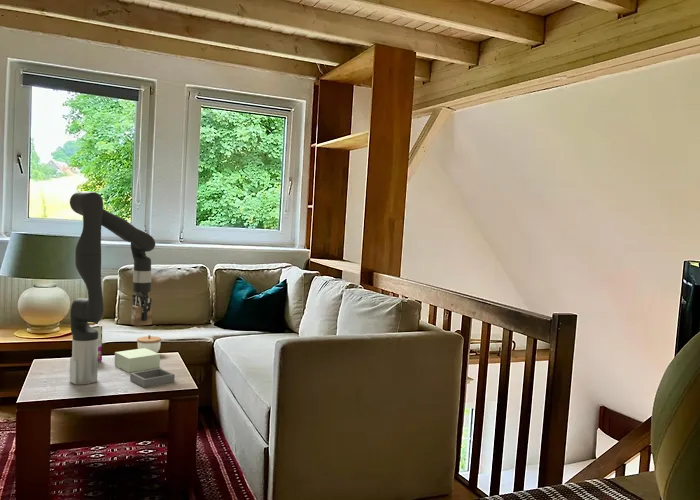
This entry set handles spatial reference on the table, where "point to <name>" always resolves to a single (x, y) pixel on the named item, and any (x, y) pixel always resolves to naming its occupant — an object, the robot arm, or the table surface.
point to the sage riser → (137, 360)
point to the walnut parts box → (140, 316)
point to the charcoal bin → (162, 379)
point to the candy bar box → (99, 329)
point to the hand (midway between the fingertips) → (141, 319)
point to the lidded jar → (149, 343)
